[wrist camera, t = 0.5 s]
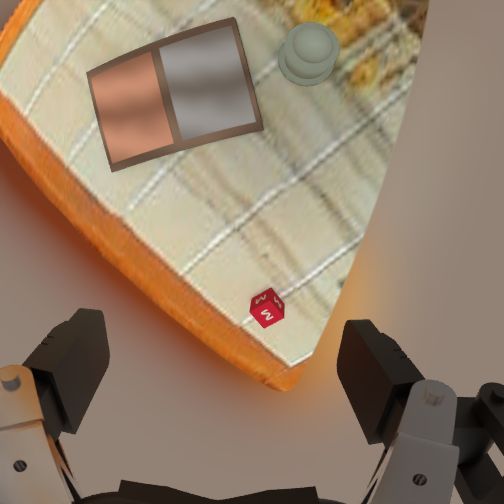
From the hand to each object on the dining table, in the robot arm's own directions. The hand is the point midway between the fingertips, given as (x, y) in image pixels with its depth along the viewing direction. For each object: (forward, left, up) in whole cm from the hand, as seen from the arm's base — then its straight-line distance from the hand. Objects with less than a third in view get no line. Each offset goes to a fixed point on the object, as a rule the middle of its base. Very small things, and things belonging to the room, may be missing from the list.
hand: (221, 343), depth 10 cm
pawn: (-12, +7, -27) cm, 30 cm away
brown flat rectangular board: (-12, -8, -27) cm, 30 cm away
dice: (+15, -3, -27) cm, 31 cm away
